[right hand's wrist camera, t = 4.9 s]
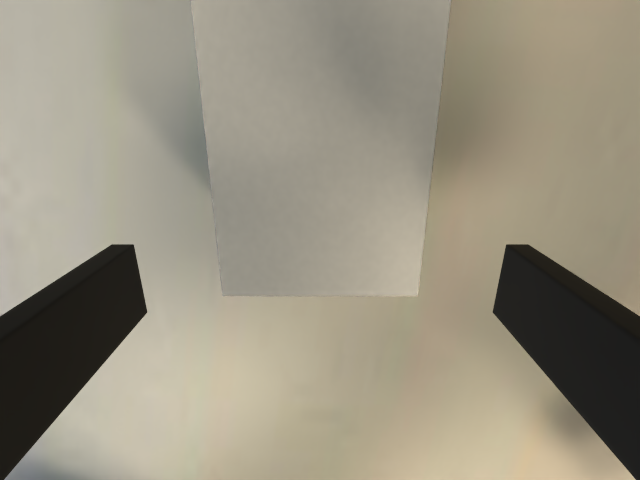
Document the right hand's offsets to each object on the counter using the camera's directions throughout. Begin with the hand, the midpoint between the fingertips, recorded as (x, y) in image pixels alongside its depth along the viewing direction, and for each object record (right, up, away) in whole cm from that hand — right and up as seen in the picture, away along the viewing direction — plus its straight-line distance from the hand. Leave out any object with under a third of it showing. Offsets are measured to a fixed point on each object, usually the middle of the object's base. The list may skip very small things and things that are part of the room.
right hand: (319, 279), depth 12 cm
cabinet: (0, +9, +11) cm, 14 cm away
